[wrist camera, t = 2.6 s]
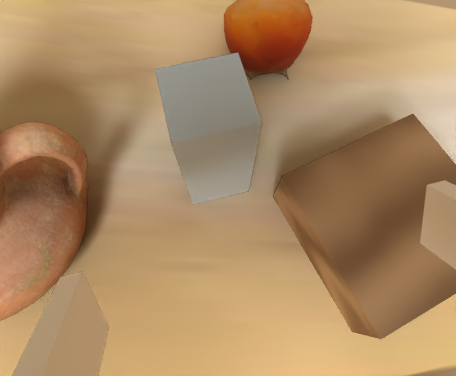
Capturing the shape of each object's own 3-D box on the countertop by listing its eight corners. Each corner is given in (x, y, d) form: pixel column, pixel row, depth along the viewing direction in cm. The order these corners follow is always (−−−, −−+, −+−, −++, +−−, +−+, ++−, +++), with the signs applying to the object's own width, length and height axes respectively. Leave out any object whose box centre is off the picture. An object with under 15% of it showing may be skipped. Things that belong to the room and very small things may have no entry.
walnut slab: (272, 197, 27) (282, 176, 22) (382, 143, 29) (412, 113, 24) (350, 331, 23) (381, 338, 19) (471, 259, 25) (526, 249, 20)
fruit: (237, 100, 28) (229, 0, 23) (224, 73, 35) (215, -11, 30) (320, 86, 29) (330, -14, 24) (293, 62, 35) (296, -22, 30)
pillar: (192, 204, 26) (171, 142, 16) (181, 154, 28) (155, 69, 18) (248, 191, 27) (262, 122, 17) (233, 142, 29) (238, 52, 18)
